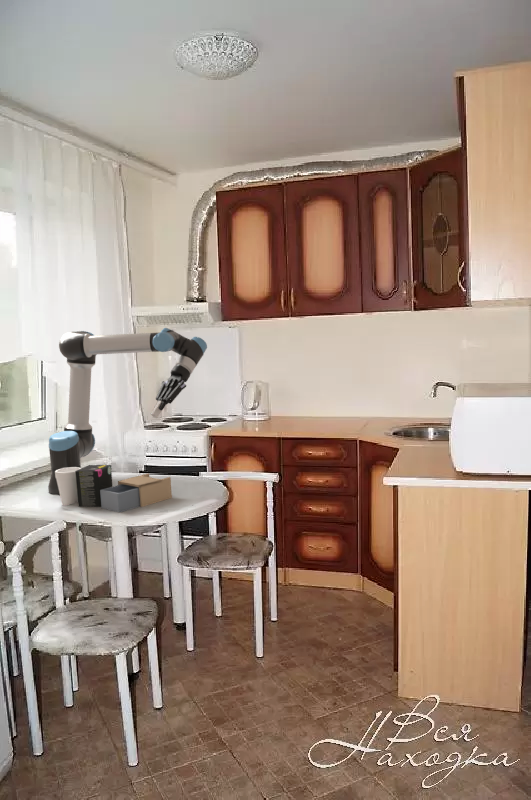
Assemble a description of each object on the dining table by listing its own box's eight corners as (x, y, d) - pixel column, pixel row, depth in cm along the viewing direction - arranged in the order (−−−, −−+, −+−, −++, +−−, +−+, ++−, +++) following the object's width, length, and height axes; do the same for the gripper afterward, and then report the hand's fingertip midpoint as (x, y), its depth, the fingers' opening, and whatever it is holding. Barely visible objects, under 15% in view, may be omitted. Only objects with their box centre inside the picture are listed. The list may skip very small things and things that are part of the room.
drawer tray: (101, 509, 230) (100, 489, 229) (150, 495, 247) (148, 477, 246) (119, 513, 223) (118, 493, 222) (168, 498, 240) (167, 480, 239)
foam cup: (54, 507, 239) (51, 473, 237) (63, 500, 248) (60, 467, 247) (79, 506, 238) (76, 472, 237) (87, 500, 248) (84, 466, 246)
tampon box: (101, 511, 231) (98, 470, 230) (77, 510, 233) (74, 470, 232) (114, 502, 242) (111, 464, 240) (91, 502, 244) (88, 464, 242)
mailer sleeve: (119, 505, 238) (117, 481, 237) (149, 496, 248) (148, 473, 247) (142, 510, 229) (140, 485, 228) (172, 501, 240) (170, 477, 239)
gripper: (199, 376, 261) (170, 422, 251) (177, 375, 270) (148, 420, 259) (188, 363, 257) (158, 410, 246) (166, 363, 265) (137, 409, 255)
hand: (153, 415), depth 253 cm, fingers closed
